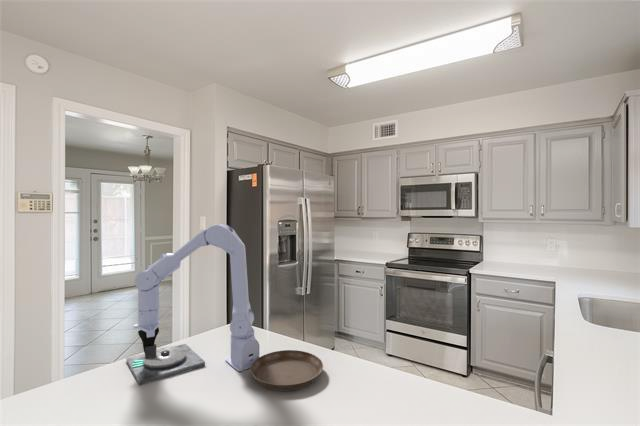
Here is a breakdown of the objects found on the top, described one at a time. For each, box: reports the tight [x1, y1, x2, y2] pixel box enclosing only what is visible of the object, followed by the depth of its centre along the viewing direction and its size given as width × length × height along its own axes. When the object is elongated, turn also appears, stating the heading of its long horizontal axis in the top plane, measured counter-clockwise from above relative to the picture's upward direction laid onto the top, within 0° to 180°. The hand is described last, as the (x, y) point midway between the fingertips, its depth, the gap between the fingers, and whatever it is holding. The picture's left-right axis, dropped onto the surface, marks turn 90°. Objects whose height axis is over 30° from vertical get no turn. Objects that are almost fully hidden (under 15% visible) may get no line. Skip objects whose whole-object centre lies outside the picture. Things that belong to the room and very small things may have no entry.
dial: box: [143, 343, 186, 368], centre depth 103 cm, size 12×12×5 cm
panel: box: [125, 343, 206, 386], centre depth 103 cm, size 18×18×2 cm
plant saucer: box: [250, 349, 324, 392], centre depth 96 cm, size 21×21×3 cm
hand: (148, 353), depth 102 cm, fingers closed, pressing on dial
